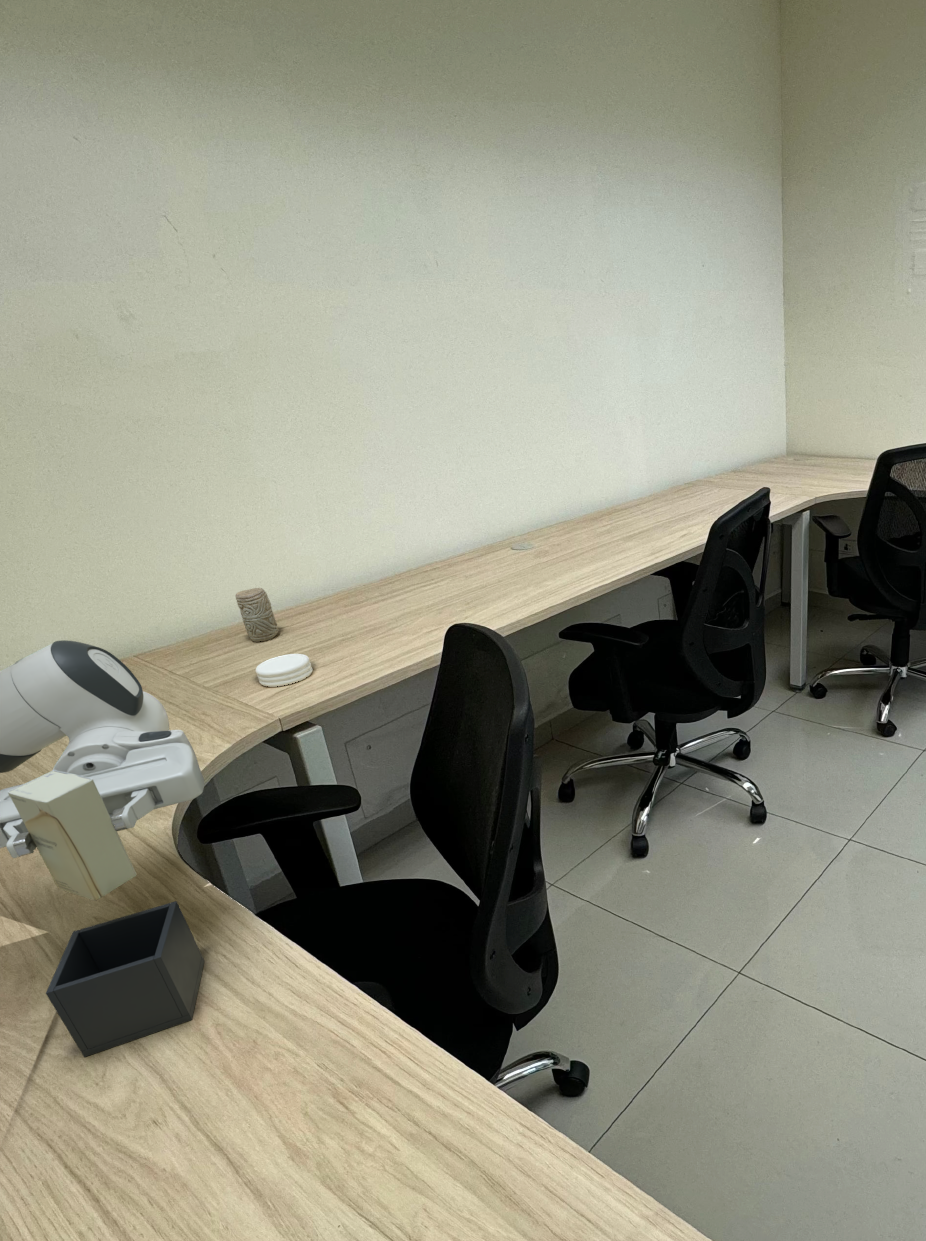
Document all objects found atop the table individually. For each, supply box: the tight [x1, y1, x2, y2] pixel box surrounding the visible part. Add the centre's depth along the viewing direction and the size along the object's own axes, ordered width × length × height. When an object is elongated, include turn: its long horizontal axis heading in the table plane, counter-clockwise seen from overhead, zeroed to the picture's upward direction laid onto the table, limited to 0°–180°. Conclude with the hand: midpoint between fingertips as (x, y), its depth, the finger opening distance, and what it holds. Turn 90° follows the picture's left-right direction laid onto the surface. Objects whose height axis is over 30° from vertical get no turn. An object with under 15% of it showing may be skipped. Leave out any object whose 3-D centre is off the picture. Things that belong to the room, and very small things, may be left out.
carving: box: [234, 587, 279, 643], centre depth 179 cm, size 6×8×12 cm
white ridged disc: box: [255, 653, 313, 688], centre depth 158 cm, size 10×10×4 cm
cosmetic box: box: [8, 769, 137, 901], centre depth 76 cm, size 6×4×12 cm
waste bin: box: [45, 900, 205, 1058], centre depth 79 cm, size 9×9×9 cm
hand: (71, 836), depth 75 cm, fingers closed on cosmetic box, 7 cm apart
